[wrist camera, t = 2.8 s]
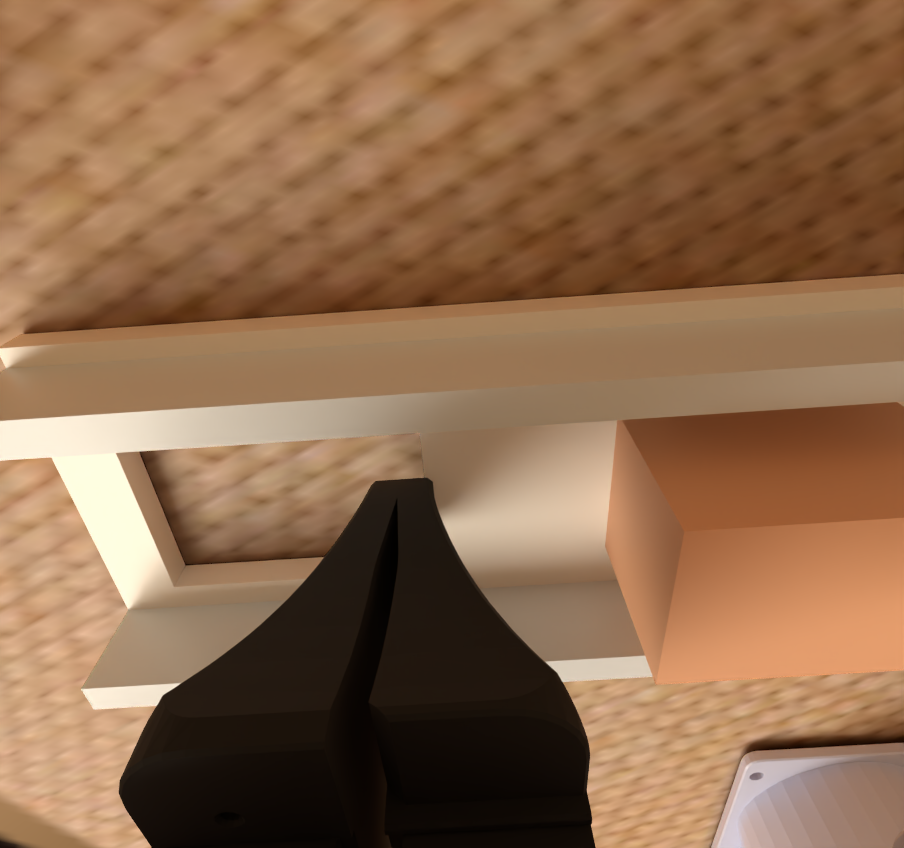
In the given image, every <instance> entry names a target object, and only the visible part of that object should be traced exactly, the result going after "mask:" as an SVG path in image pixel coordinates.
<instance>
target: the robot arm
mask: <svg viewBox="0 0 904 848" xmlns="http://www.w3.org/2000/svg"><path fill="white" fill-rule="evenodd" d="M589 761H590V750H589V743H588V739H587V736H586V733H585V730H584V727H583V725H582V722H581V719H580V717H579V715H578V712H577V710H576V708H575V706H574V704H573V702H572V699H571V697H570V695H569V693H568V692H567V690H566V688H565V686H564V684H563V682H562V680H561V679H560V677H559V675H558V673H557V672H556V671H555V670H554V669H552V668H551V667H550V666H549V665H548V664H547V663H546V662H545V661H543V660H542V659H541V658H540V657H539V656H538V655H537V654H536V653H535V652H534V651H533V650H532V649H531V648H530V647H529V646H528V645H527V644H526V643H525V642H524V641H523V640H522V639H521V638H520V637H519V636H518V635H517V634H516V633H515V632H514V631H513V630H512V628H511V627H510V626H509V625H508V624H507V622H506V621H505V620H504V619H503V618H502V617H501V615H500V614H499V613H498V612H497V611H496V609H495V608H494V607H493V606H492V605H491V603H490V602H489V601H488V599H487V598H486V597H485V595H484V594H483V593H482V591H481V590H480V589H479V587H478V586H477V584H476V583H475V581H474V580H473V578H472V577H471V575H470V574H469V572H468V570H467V569H466V567H465V565H464V564H463V562H462V560H461V558H460V557H459V555H458V553H457V551H456V549H455V548H454V546H453V544H452V542H451V540H450V537H449V535H448V533H447V531H446V528H445V526H444V524H443V522H442V519H441V517H440V514H439V511H438V508H437V505H436V501H435V498H434V488H433V481H431V480H430V479H429V478H416V479H401V480H385V481H375V482H374V483H373V484H372V485H371V487H370V489H369V491H368V493H367V494H366V496H365V498H364V500H363V501H362V503H361V505H360V506H359V508H358V510H357V511H356V513H355V514H354V516H353V518H352V519H351V521H350V522H349V524H348V525H347V526H346V528H345V529H344V531H343V532H342V534H341V535H340V537H339V538H338V540H337V541H336V542H335V544H334V545H333V546H332V548H331V549H330V550H329V552H328V553H327V554H326V555H325V557H324V558H323V559H322V561H321V562H320V563H319V564H318V566H317V567H316V568H315V569H314V570H313V572H312V573H311V574H310V575H309V576H308V577H307V579H306V580H305V581H304V582H303V583H302V584H301V585H300V586H299V587H298V588H297V590H296V591H295V592H294V593H293V594H292V595H291V596H290V597H289V598H288V599H287V600H286V601H285V602H284V603H283V604H282V605H281V606H280V607H279V608H278V609H277V610H276V611H275V612H274V613H273V614H271V615H270V616H269V617H268V618H267V619H266V620H265V621H264V622H263V623H262V624H260V625H259V626H258V627H257V628H256V629H255V630H254V631H252V632H251V633H250V634H249V635H247V636H246V637H245V638H244V639H243V640H241V641H240V642H239V643H238V644H236V645H235V646H234V647H232V648H231V649H230V650H228V651H227V652H226V653H224V654H223V655H222V656H220V657H219V658H218V659H216V660H215V661H214V662H212V663H211V664H209V665H208V666H206V667H205V668H203V669H202V670H200V671H199V672H197V673H196V674H194V675H193V676H191V677H190V678H188V679H187V680H185V681H184V682H182V683H181V684H179V685H178V686H176V687H175V688H173V689H172V690H170V691H169V692H167V693H165V694H164V695H163V696H162V697H161V699H160V701H159V703H158V705H157V706H156V708H155V710H154V711H153V713H152V715H151V716H150V718H149V720H148V722H147V724H146V726H145V728H144V730H143V732H142V734H141V736H140V738H139V740H138V742H137V745H136V747H135V749H134V751H133V753H132V755H131V758H130V760H129V762H128V764H127V766H126V768H125V771H124V773H123V775H122V777H121V779H120V785H119V795H120V797H121V799H122V802H123V804H124V806H125V808H126V810H127V812H128V813H129V815H130V816H131V817H132V819H133V820H134V822H135V823H136V825H137V826H138V828H139V829H140V831H141V832H142V834H143V835H144V836H145V838H146V839H147V841H148V842H149V844H150V845H151V847H152V848H595V843H594V838H593V833H592V828H591V824H592V815H591V809H590V805H589V800H588V795H587V780H588V771H589ZM711 848H904V742H903V743H886V744H868V745H850V746H833V747H815V748H797V749H780V750H762V751H752V752H749V753H747V754H746V755H744V756H743V758H742V759H741V762H740V765H739V768H738V771H737V774H736V777H735V780H734V783H733V785H732V788H731V791H730V794H729V797H728V800H727V803H726V806H725V809H724V812H723V814H722V817H721V820H720V823H719V826H718V829H717V832H716V835H715V838H714V841H713V843H712V846H711Z"/></svg>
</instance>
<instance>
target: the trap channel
mask: <svg viewBox="0 0 904 848" xmlns="http://www.w3.org/2000/svg"><path fill="white" fill-rule="evenodd" d="M0 357H1V359H2V361H3V363H4V365H5V367H6V369H5V370H3V371H2V372H0V461H1V460H16V459H32V458H47V457H51V458H52V460H53V462H54V464H55V466H56V467H57V469H58V471H59V473H60V475H61V477H62V479H63V481H64V483H65V485H66V487H67V489H68V491H69V493H70V495H71V497H72V499H73V501H74V503H75V505H76V507H77V509H78V511H79V513H80V515H81V517H82V519H83V521H84V523H85V525H86V527H87V529H88V531H89V533H90V535H91V537H92V539H93V541H94V543H95V545H96V547H97V549H98V551H99V553H100V555H101V557H102V559H103V560H104V562H105V564H106V566H107V568H108V570H109V572H110V574H111V576H112V578H113V580H114V582H115V584H116V586H117V588H118V590H119V592H120V594H121V596H122V598H123V600H124V602H125V604H126V606H127V608H128V612H127V613H126V615H125V617H124V618H123V620H122V622H121V623H120V625H119V627H118V628H117V630H116V632H115V633H114V635H113V637H112V638H111V640H110V642H109V643H108V645H107V647H106V648H105V650H104V652H103V653H102V655H101V657H100V658H99V660H98V662H97V663H96V665H95V667H94V668H93V670H92V672H91V673H90V675H89V677H88V678H87V680H86V682H85V683H84V685H83V687H82V688H81V690H82V691H83V693H84V695H85V696H86V698H87V699H88V701H89V702H90V704H91V706H92V707H93V709H110V708H127V707H144V706H157V705H158V703H159V701H160V699H161V697H162V696H163V695H164V694H165V693H167V692H169V691H170V690H172V689H173V688H175V687H176V686H178V685H179V684H181V683H182V682H184V681H185V680H187V679H188V678H190V677H191V676H193V675H194V674H196V673H197V672H199V671H200V670H202V669H203V668H205V667H206V666H208V665H209V664H211V663H212V662H214V661H215V660H216V659H218V658H219V657H220V656H222V655H223V654H224V653H226V652H227V651H228V650H230V649H231V648H232V647H234V646H235V645H236V644H238V643H239V642H240V641H241V640H243V639H244V638H245V637H246V636H247V635H249V634H250V633H251V632H252V631H254V630H255V629H256V628H257V627H258V626H259V625H260V624H262V623H263V622H264V621H265V620H266V619H267V618H268V617H269V616H270V615H271V614H273V613H274V612H275V611H276V610H277V609H278V608H279V607H280V606H281V605H282V604H283V603H284V602H285V601H286V600H287V599H288V598H289V597H290V596H291V595H292V594H293V593H294V592H295V591H296V590H297V588H298V587H299V586H300V585H301V584H302V583H303V582H304V581H305V580H306V579H307V577H308V576H309V575H310V574H311V573H312V572H313V570H314V569H315V568H316V567H317V566H318V564H319V563H320V562H321V561H322V559H323V558H324V557H316V558H300V559H284V560H268V561H251V562H235V563H219V564H203V565H187V566H185V563H184V561H183V558H182V556H181V553H180V551H179V549H178V546H177V544H176V541H175V539H174V536H173V534H172V531H171V529H170V527H169V524H168V522H167V519H166V517H165V514H164V512H163V509H162V507H161V505H160V502H159V500H158V497H157V495H156V492H155V490H154V487H153V485H152V483H151V480H150V478H149V475H148V473H147V470H146V468H145V465H144V463H143V461H142V458H141V456H140V453H139V451H154V450H170V449H185V448H200V447H216V446H231V445H246V444H261V443H277V442H292V441H307V440H323V439H338V438H353V437H369V436H384V435H399V434H415V433H420V443H421V452H422V461H423V470H424V478H429V479H430V480H431V481H433V488H434V498H435V501H436V505H437V508H438V511H439V514H440V517H441V519H442V522H443V524H444V526H445V528H446V531H447V533H448V535H449V537H450V540H451V542H452V544H453V546H454V548H455V549H456V551H457V553H458V555H459V557H460V558H461V560H462V562H463V564H464V565H465V567H466V569H467V570H468V572H469V574H470V575H471V577H472V578H473V580H474V581H475V583H476V584H477V586H478V587H479V589H480V590H481V591H482V593H483V594H484V595H485V597H486V598H487V599H488V601H489V602H490V603H491V605H492V606H493V607H494V608H495V609H496V611H497V612H498V613H499V614H500V615H501V617H502V618H503V619H504V620H505V621H506V622H507V624H508V625H509V626H510V627H511V628H512V630H513V631H514V632H515V633H516V634H517V635H518V636H519V637H520V638H521V639H522V640H523V641H524V642H525V643H526V644H527V645H528V646H529V647H530V648H531V649H532V650H533V651H534V652H535V653H536V654H537V655H538V656H539V657H540V658H541V659H542V660H543V661H545V662H546V663H547V664H548V665H549V666H550V667H551V668H552V669H554V670H555V671H556V672H557V673H558V675H559V677H560V679H561V680H562V682H570V681H587V680H604V679H621V678H639V677H653V676H652V673H651V670H650V668H649V665H648V662H647V659H646V657H645V654H644V651H643V649H642V646H641V643H640V640H639V638H638V635H637V632H636V629H635V627H634V624H633V621H632V619H631V616H630V613H629V610H628V608H627V605H626V602H625V599H624V597H623V594H622V591H621V588H620V586H619V583H618V580H617V578H616V575H615V572H614V569H613V567H612V564H611V561H610V558H609V556H608V553H607V550H606V548H605V542H606V532H607V521H608V511H609V501H610V490H611V480H612V469H613V459H614V449H615V438H616V428H617V420H629V419H644V418H660V417H675V416H690V415H706V414H721V413H736V412H752V411H767V410H782V409H798V408H813V407H828V406H844V405H859V404H874V403H890V402H898V403H899V404H901V405H902V406H904V274H894V275H879V276H865V277H850V278H835V279H821V280H806V281H792V282H777V283H762V284H748V285H733V286H719V287H704V288H689V289H675V290H660V291H646V292H631V293H616V294H602V295H587V296H573V297H558V298H543V299H529V300H514V301H500V302H485V303H470V304H456V305H441V306H427V307H412V308H397V309H383V310H368V311H354V312H339V313H325V314H310V315H295V316H281V317H266V318H252V319H237V320H222V321H208V322H193V323H179V324H164V325H149V326H135V327H120V328H106V329H91V330H76V331H62V332H47V333H33V334H21V335H19V336H17V337H16V338H14V339H12V340H10V341H9V342H7V343H5V344H3V345H2V346H0Z"/></svg>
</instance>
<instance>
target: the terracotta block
mask: <svg viewBox="0 0 904 848" xmlns="http://www.w3.org/2000/svg"><path fill="white" fill-rule="evenodd" d="M605 548H606V550H607V553H608V556H609V558H610V561H611V564H612V567H613V569H614V572H615V575H616V578H617V580H618V583H619V586H620V588H621V591H622V594H623V597H624V599H625V602H626V605H627V608H628V610H629V613H630V616H631V619H632V621H633V624H634V627H635V629H636V632H637V635H638V638H639V640H640V643H641V646H642V649H643V651H644V654H645V657H646V659H647V662H648V665H649V668H650V670H651V673H652V676H653V679H654V681H655V684H656V685H658V684H675V683H692V682H709V681H726V680H743V679H760V678H777V677H794V676H811V675H829V674H846V673H863V672H880V671H897V670H904V406H902V405H901V404H899V403H898V402H890V403H874V404H859V405H844V406H828V407H813V408H798V409H782V410H767V411H752V412H736V413H721V414H706V415H690V416H675V417H660V418H644V419H629V420H617V428H616V438H615V449H614V459H613V469H612V480H611V490H610V501H609V511H608V521H607V532H606V542H605Z"/></svg>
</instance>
